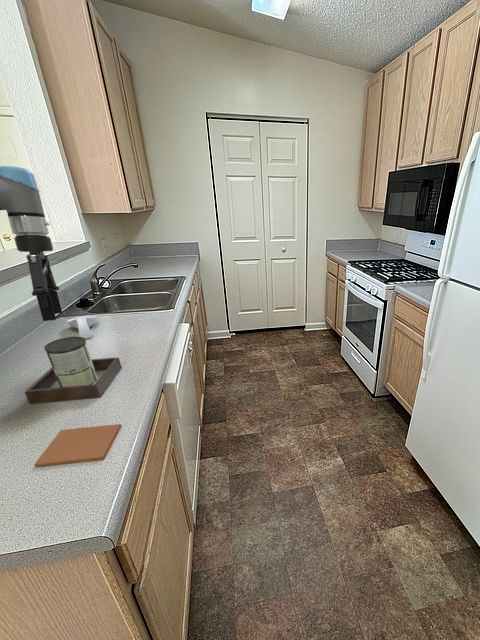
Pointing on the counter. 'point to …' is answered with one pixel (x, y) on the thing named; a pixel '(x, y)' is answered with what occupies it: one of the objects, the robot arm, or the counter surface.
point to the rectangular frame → (44, 393)
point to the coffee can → (71, 362)
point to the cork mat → (79, 445)
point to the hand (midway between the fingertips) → (53, 316)
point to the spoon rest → (83, 325)
